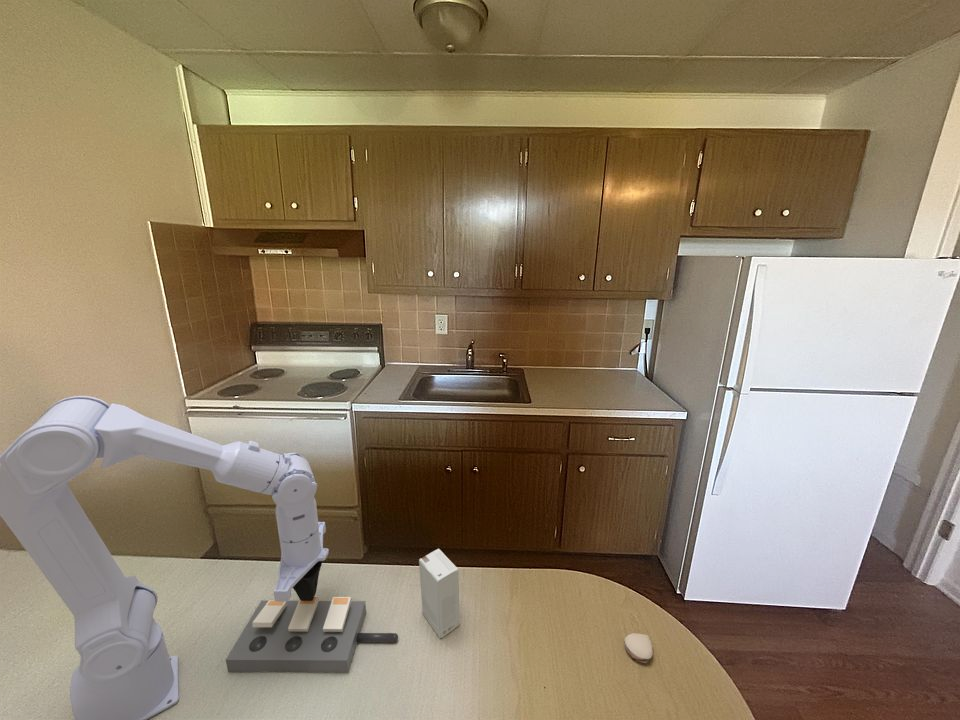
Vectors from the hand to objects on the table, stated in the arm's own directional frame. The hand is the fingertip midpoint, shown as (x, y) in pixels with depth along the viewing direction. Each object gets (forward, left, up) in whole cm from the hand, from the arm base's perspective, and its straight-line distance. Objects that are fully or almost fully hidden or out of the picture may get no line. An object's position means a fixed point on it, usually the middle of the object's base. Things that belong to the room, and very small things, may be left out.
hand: (308, 597), depth 65 cm
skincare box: (+18, -13, -6) cm, 23 cm away
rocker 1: (-1, -1, -1) cm, 2 cm away
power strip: (+1, -5, -5) cm, 7 cm away
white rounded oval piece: (+41, -37, -6) cm, 55 cm away
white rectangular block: (-6, +2, -1) cm, 6 cm away
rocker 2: (+3, -5, -1) cm, 6 cm away
